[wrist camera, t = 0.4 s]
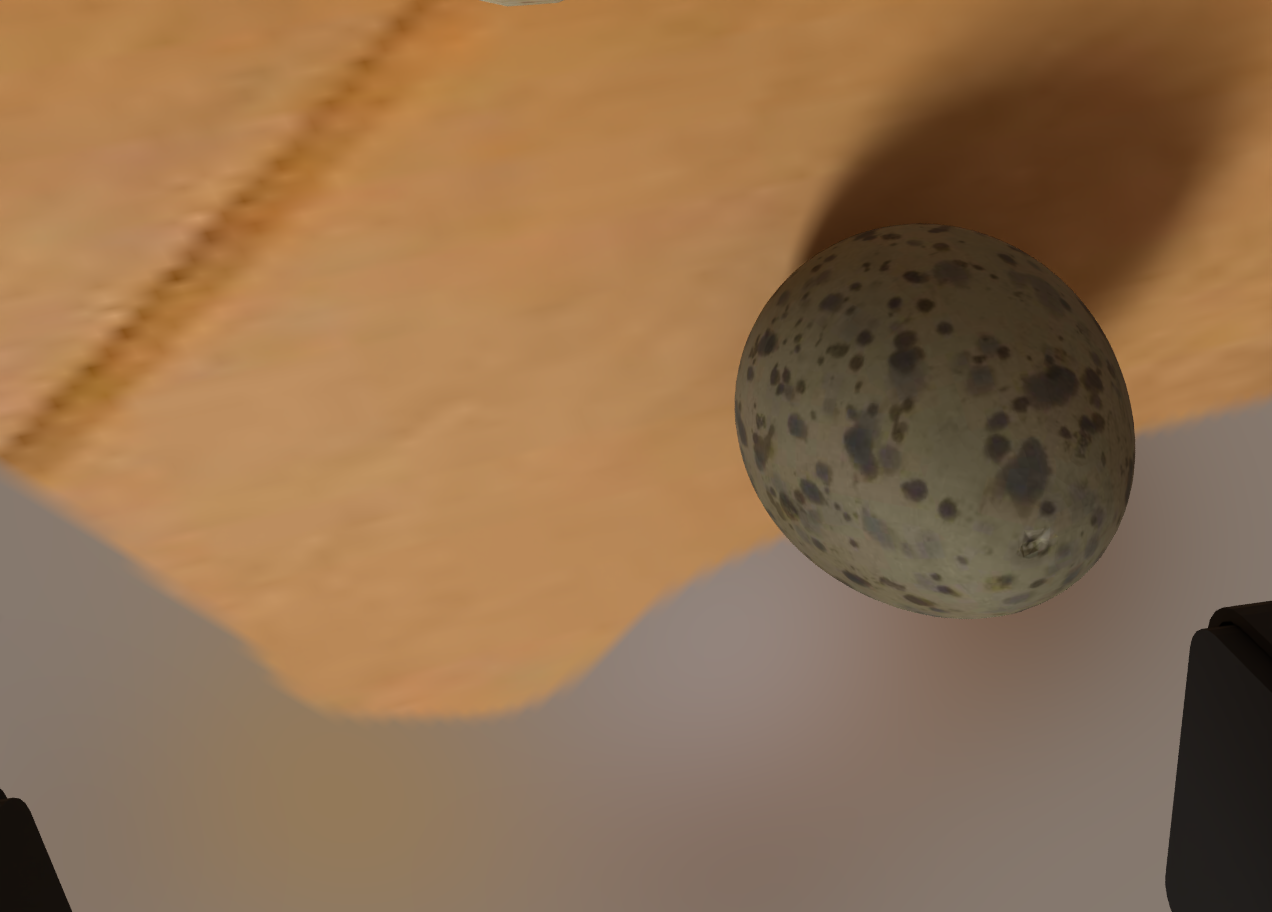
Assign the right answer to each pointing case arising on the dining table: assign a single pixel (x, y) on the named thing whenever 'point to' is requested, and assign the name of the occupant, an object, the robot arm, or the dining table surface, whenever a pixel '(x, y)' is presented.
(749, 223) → the dining table surface
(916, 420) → the decorative egg
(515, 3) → the food model
